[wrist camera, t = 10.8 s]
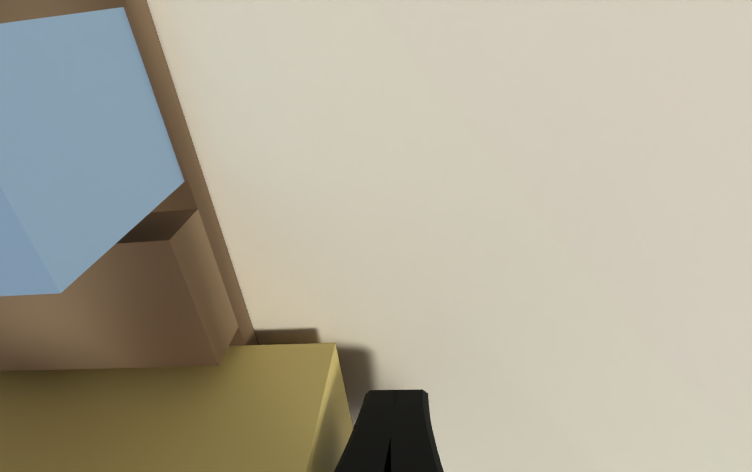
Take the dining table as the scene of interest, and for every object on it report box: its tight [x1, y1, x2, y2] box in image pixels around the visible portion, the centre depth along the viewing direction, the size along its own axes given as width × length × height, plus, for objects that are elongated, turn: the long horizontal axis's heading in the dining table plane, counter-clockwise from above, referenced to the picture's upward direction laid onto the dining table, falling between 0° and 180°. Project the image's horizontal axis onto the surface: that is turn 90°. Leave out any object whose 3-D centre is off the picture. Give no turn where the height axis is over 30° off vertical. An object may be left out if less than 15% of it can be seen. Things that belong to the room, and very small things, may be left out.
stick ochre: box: [0, 343, 353, 472], centre depth 10 cm, size 10×3×4 cm, turn 97°
